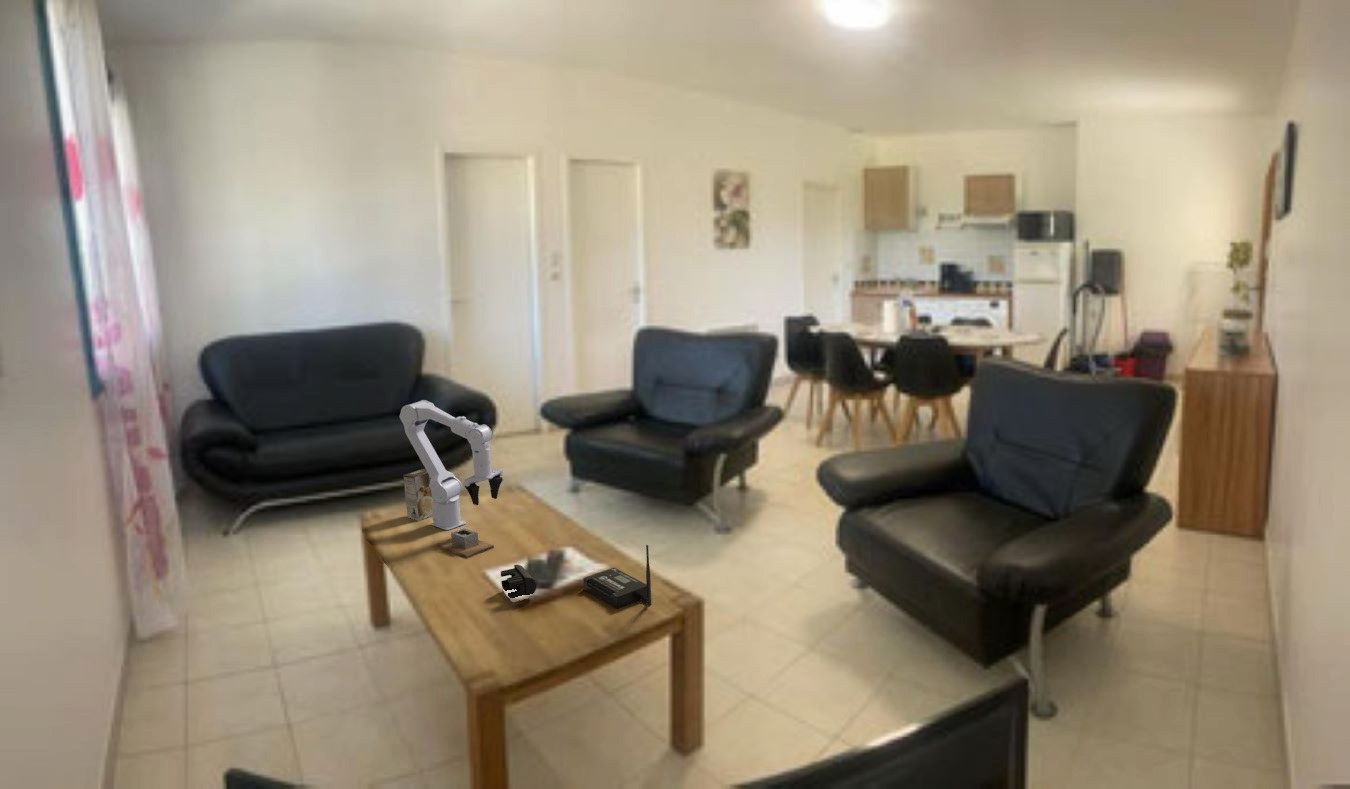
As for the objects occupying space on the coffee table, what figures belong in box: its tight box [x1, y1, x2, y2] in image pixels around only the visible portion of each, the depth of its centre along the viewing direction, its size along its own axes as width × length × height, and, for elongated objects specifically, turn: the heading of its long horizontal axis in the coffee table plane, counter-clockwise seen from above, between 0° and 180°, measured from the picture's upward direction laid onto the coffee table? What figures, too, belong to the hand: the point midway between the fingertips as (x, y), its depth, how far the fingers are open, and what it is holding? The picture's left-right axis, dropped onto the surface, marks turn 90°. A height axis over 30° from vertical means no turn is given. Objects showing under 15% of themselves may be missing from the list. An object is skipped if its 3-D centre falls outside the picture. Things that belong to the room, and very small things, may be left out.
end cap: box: [500, 564, 537, 598], centre depth 218 cm, size 10×7×7 cm
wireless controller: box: [582, 544, 652, 610], centre depth 214 cm, size 20×14×17 cm
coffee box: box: [402, 468, 435, 522], centre depth 282 cm, size 9×6×16 cm
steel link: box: [450, 527, 479, 550], centre depth 253 cm, size 7×5×4 cm
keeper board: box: [436, 534, 495, 559], centre depth 253 cm, size 16×10×4 cm, turn 50°
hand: (485, 501), depth 266 cm, fingers open, 7 cm apart
